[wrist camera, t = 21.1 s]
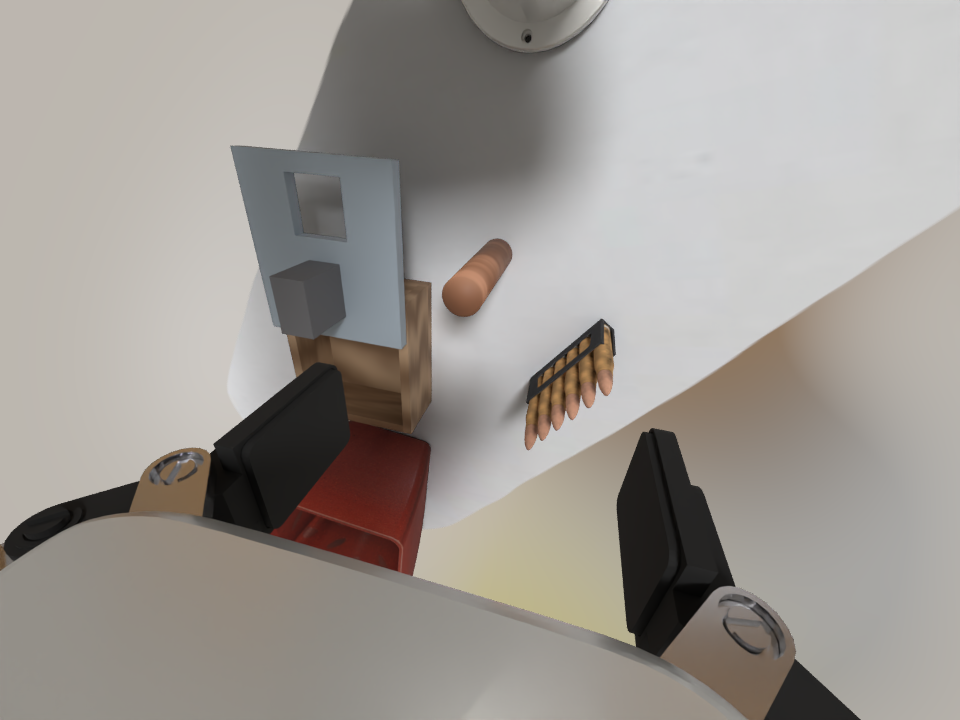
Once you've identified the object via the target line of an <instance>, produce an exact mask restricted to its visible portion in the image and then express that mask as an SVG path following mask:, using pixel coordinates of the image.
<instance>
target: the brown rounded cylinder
mask: <svg viewBox="0 0 960 720" xmlns="http://www.w3.org/2000/svg"><path fill="white" fill-rule="evenodd" d="M511 259H512V250H511V247H510V246H509V244H508V243H507V242H506V241H504V240H502V239H492V240H490V241H489V242H487V243H486V244H485V245H484V246H483V247H482V248H481V249H480V250H479V251H478V252H477V253H476V254H475V255H474V256H473V257H472V258H471V259H470V260H469V261H468V262H467V263H466V264H465V265H464V266H463V267H462V268H461V269H460V270H459V271H458V272H457V273H456V274H455V275H454V276H453V277H452V278H451V279H450V280H449V281H448V282H447V283H446V284H445V285H444V287H443V291H442V298H443V302H444V304H445V306H446V307H447V309H448V310H449V311H450V312H452V313H453V314H455V315H457V316H461V317H467V316H471V315H473V314H475V313H476V312H477V311H478V310H479V309H480V307H481V306H482V304H483V303H484V301H485V300H486V298H487V297H488V295H489V293H490V292H491V290H492V289H493V287H494V286H495V284H496V283H497V281H498V280H499V278H500V277H501V275H502V274H503V272H504V271H505V269H506V268H507V266H508V265H509V263H510V261H511Z"/></svg>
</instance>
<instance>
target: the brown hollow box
mask: <svg viewBox="0 0 960 720" xmlns="http://www.w3.org/2000/svg"><path fill="white" fill-rule="evenodd" d="M404 294H405V319H406V343H407V344H406V345H405V346H404V347H403V348H402V349H396V348H391V347H385V346H380V345H375V344H369V343H364V342H358V341H353V340H347V339H342V338H336V337H331V336H325V335H319V336H318V337H317V338H315V339H308V338H303V337H298V336H292V335H287V337H288V342H289V346H290V351H291V355H292V360H293V364H294V368H295V373H296V377H298V376H299V375H300V374H302V373H303V372H304V371H305V370H307V369H308V368H309V367H310V366H312V365H313V364H314V363H316V362H321V363H326V364H331V365H335V366H336V367H337V370H338V371H340V372H341V375H342V381H343V388H344V394H345V401H346V408H347V414H348V420H351V421H355V422H360V423H364V424H368V425H373V426H377V427H382V428H386V429H391V430H395V431H400V432H404V433H408V434H412V432H413V431H414V429H415V427H416V426H417V424H418V422H419V421H420V419H421V417H422V416H423V414H424V412H425V411H426V409H427V407H428V406H429V404H430V403H431V401H432V379H431V283H430V282H423V281H416V280H410V279H404Z"/></svg>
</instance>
